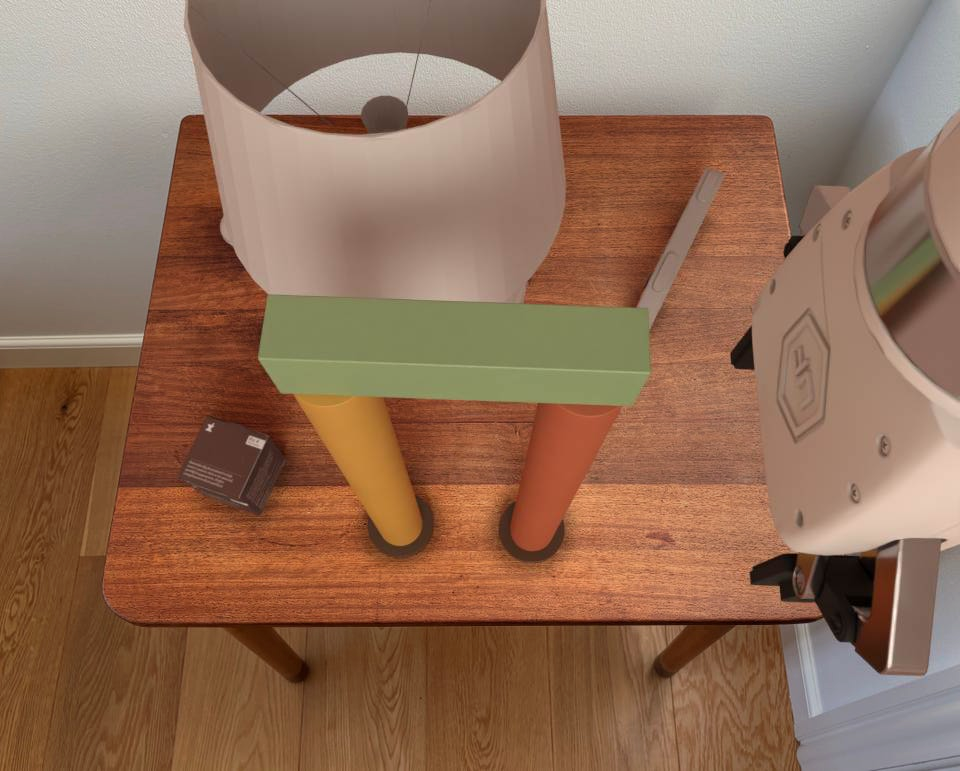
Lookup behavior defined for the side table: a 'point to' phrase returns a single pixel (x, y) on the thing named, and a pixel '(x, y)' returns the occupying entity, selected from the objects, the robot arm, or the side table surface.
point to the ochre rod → (372, 468)
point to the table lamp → (383, 150)
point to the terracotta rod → (552, 476)
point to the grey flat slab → (679, 243)
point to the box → (232, 465)
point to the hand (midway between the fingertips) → (774, 465)
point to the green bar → (456, 350)
